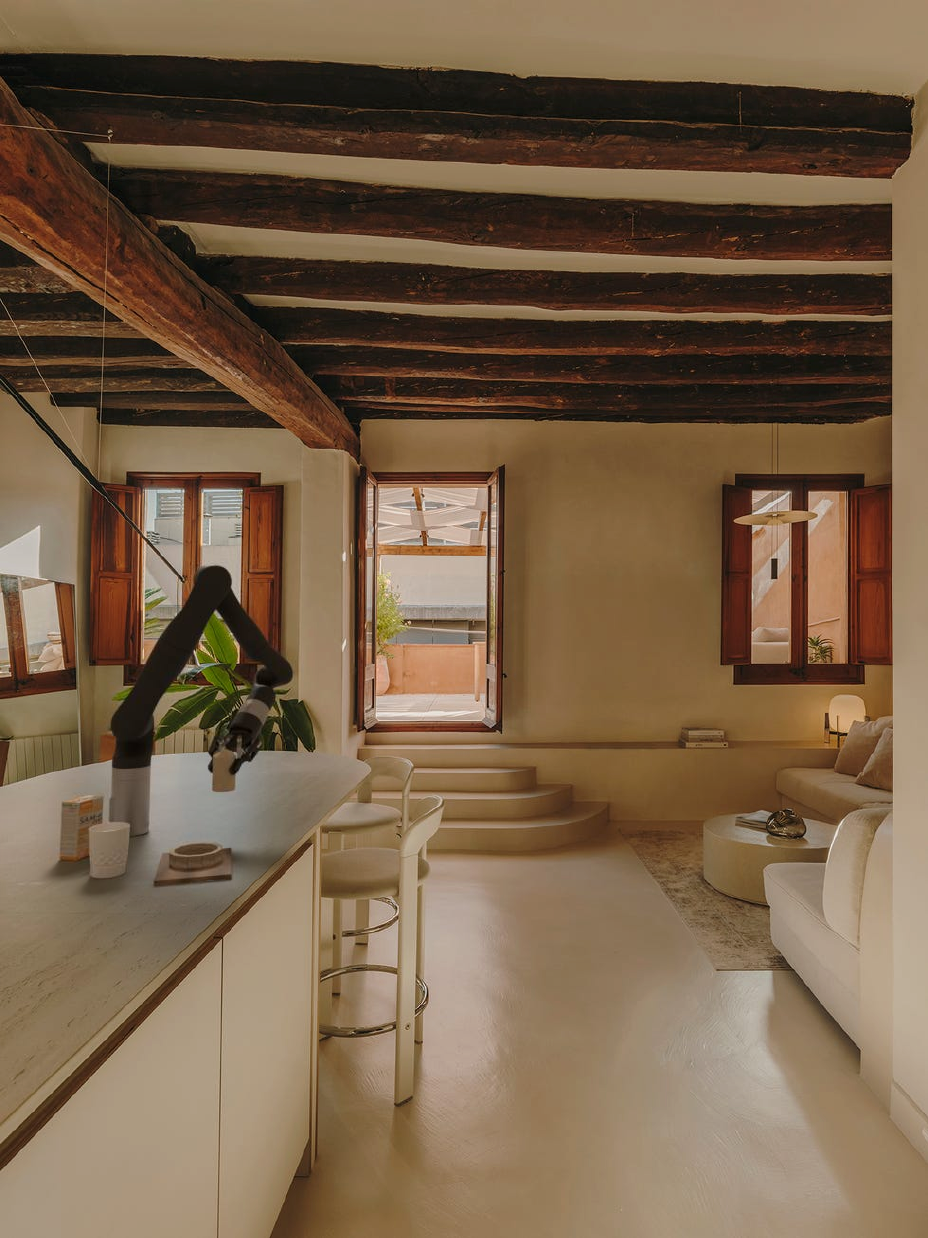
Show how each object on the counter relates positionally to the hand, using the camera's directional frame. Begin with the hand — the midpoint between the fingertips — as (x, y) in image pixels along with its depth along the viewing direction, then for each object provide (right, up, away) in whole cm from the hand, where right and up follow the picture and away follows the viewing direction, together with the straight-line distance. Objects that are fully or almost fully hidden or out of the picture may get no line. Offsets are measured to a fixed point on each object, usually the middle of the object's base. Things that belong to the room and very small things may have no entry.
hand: (221, 772), depth 175 cm
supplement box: (-28, -17, -13) cm, 35 cm away
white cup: (-15, -16, -26) cm, 34 cm away
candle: (0, -5, +1) cm, 5 cm away
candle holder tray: (+2, -16, -21) cm, 27 cm away
